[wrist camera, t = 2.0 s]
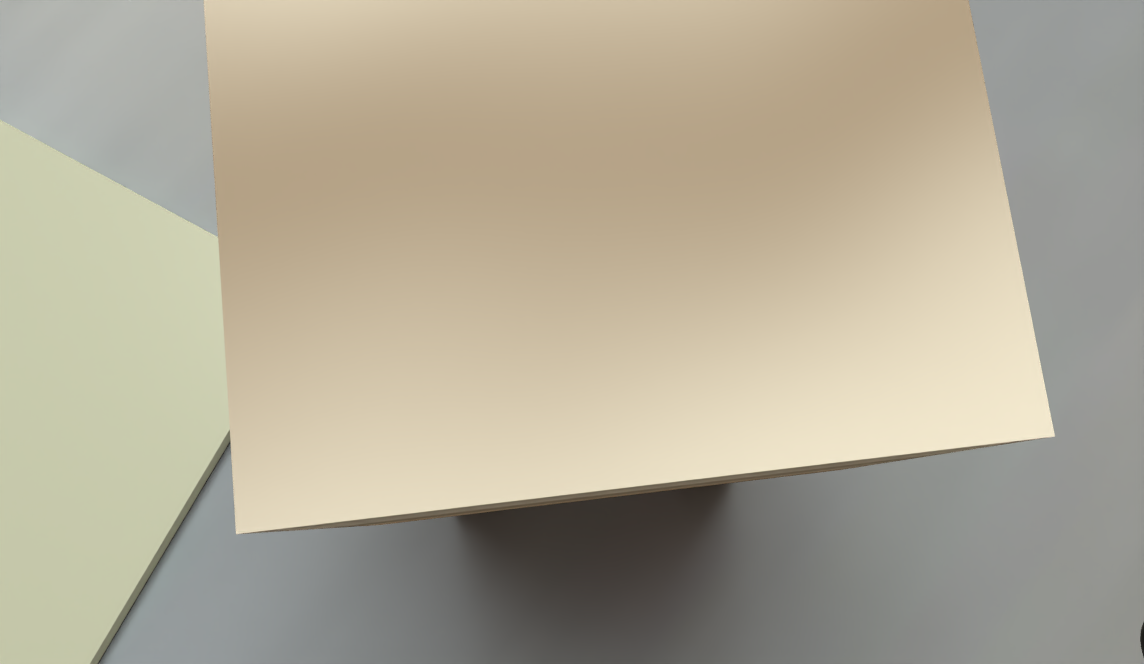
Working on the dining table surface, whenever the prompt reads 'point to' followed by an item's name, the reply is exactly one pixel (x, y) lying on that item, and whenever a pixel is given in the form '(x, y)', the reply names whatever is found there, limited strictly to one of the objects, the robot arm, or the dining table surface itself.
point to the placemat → (96, 396)
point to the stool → (603, 249)
